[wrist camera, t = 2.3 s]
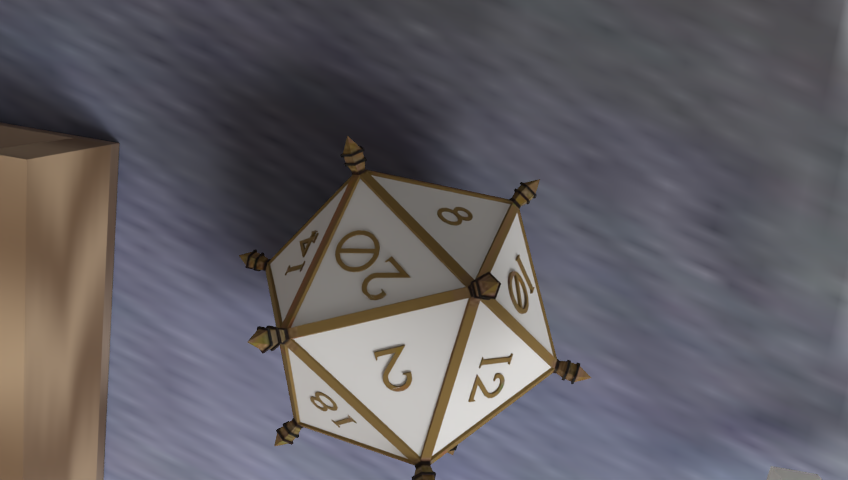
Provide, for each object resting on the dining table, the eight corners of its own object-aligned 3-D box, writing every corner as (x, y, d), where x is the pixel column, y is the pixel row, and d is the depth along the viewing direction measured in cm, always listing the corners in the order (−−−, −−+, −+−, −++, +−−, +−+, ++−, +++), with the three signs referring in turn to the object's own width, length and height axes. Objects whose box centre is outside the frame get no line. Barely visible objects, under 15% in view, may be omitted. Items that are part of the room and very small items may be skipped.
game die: (371, 250, 25) (108, 266, 17) (534, 103, 20) (274, 33, 12) (481, 473, 22) (223, 614, 14) (700, 360, 17) (495, 477, 10)
